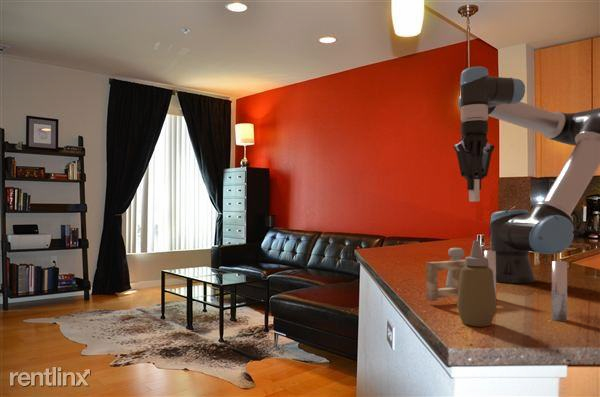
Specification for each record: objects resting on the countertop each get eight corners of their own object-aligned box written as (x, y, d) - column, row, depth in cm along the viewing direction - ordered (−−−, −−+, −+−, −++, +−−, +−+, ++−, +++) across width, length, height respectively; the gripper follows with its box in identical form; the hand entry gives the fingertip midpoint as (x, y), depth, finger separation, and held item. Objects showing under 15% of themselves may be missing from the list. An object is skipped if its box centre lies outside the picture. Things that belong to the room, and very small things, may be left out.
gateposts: (481, 298, 123) (481, 250, 123) (490, 297, 124) (490, 250, 124) (560, 321, 99) (559, 262, 99) (570, 320, 100) (570, 262, 100)
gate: (481, 294, 122) (481, 258, 122) (486, 295, 120) (486, 259, 120) (426, 299, 116) (426, 262, 116) (431, 301, 114) (431, 263, 114)
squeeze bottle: (450, 319, 101) (450, 239, 101) (485, 318, 102) (485, 239, 102) (467, 329, 93) (466, 242, 93) (504, 328, 94) (504, 242, 94)
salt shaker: (468, 295, 126) (468, 249, 126) (447, 294, 127) (447, 248, 127) (465, 291, 132) (465, 247, 132) (444, 290, 133) (444, 246, 133)
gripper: (483, 124, 138) (483, 201, 138) (447, 122, 134) (447, 201, 134) (501, 120, 131) (501, 201, 131) (463, 117, 127) (464, 201, 127)
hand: (474, 201), depth 133 cm, fingers closed
